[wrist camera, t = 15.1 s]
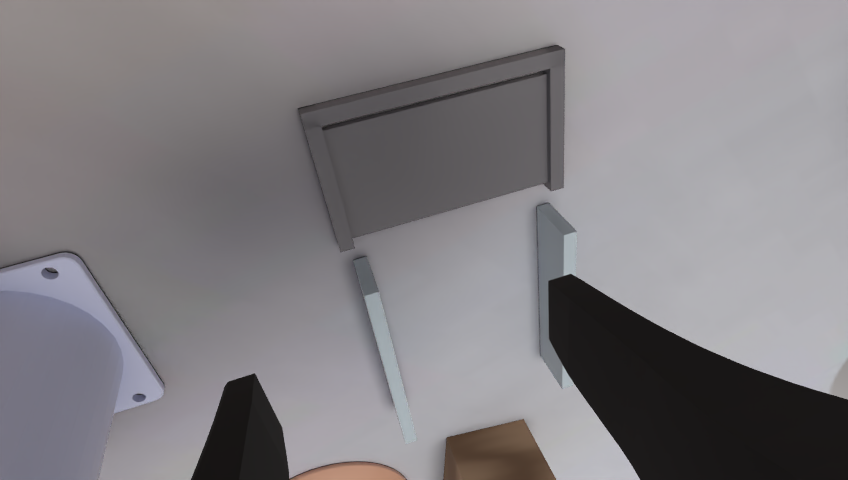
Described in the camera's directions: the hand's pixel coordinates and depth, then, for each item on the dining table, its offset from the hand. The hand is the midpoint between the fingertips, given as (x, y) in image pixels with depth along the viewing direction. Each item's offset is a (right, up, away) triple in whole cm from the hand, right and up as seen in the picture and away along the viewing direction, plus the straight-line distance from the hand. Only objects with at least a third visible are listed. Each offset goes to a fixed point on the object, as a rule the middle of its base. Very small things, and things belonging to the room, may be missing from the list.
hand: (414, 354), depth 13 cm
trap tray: (+1, +6, +9) cm, 11 cm away
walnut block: (+4, -11, +21) cm, 24 cm away
